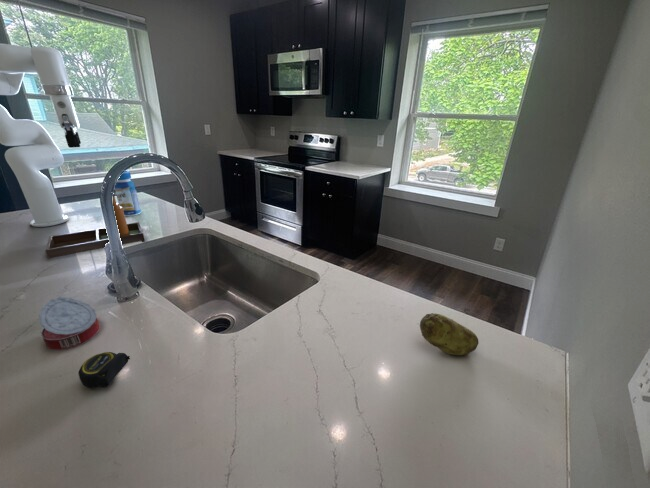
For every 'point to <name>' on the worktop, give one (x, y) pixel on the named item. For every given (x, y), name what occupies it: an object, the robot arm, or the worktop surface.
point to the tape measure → (102, 369)
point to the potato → (448, 334)
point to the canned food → (67, 323)
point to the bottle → (120, 218)
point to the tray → (88, 240)
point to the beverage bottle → (127, 195)
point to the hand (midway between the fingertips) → (75, 145)
